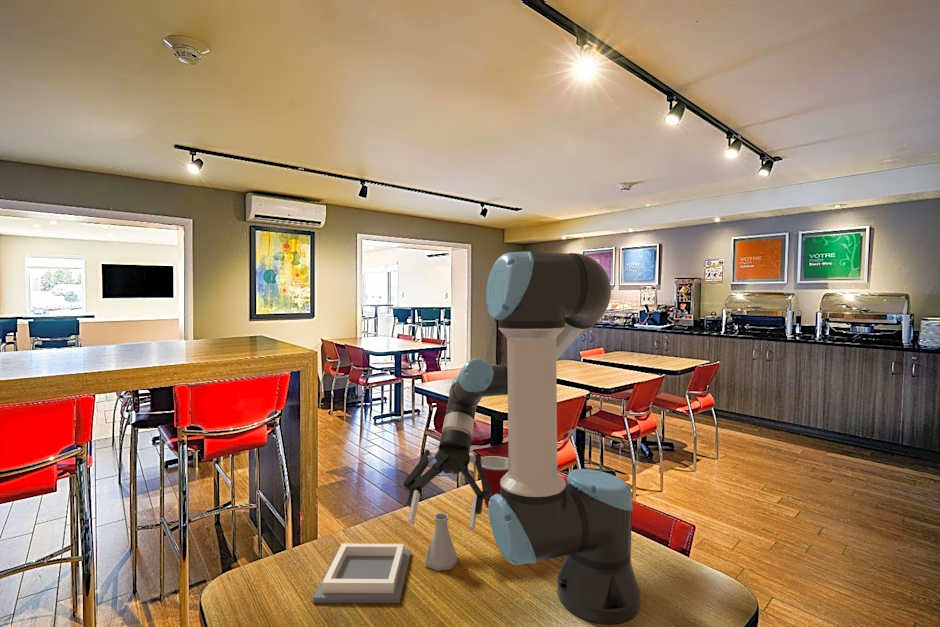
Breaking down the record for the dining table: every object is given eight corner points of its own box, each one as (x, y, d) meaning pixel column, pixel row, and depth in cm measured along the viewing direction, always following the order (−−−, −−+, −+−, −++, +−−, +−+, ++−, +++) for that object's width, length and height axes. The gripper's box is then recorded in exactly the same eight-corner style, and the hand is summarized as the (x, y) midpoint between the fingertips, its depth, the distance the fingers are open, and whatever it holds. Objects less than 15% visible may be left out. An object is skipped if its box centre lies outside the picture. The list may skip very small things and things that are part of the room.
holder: (410, 553, 103) (410, 540, 103) (399, 603, 87) (399, 587, 87) (337, 553, 103) (337, 540, 103) (313, 602, 87) (312, 587, 87)
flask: (453, 574, 96) (454, 526, 95) (420, 569, 97) (419, 522, 97) (461, 554, 103) (461, 509, 102) (429, 550, 104) (429, 506, 104)
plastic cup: (523, 501, 128) (523, 458, 127) (504, 517, 119) (504, 471, 118) (488, 491, 134) (489, 450, 133) (468, 507, 125) (468, 462, 124)
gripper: (508, 445, 115) (499, 537, 101) (411, 438, 120) (390, 525, 106) (506, 431, 110) (496, 525, 96) (404, 424, 115) (381, 513, 101)
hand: (440, 525), depth 101 cm, fingers open, 13 cm apart
